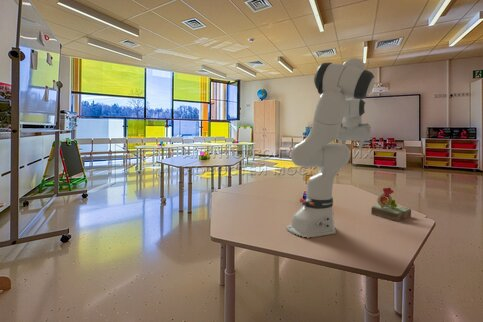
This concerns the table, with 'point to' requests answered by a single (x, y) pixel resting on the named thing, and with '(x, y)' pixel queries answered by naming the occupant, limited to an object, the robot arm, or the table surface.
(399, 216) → the sage green square tile
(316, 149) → the robot arm
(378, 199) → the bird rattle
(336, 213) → the table surface
